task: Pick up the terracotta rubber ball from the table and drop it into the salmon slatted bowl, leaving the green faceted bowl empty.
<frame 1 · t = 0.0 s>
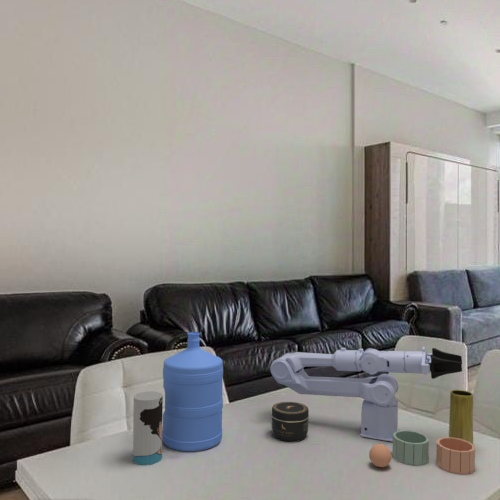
hand: (461, 363, 121), 22 cm above the table, tool horizontal, fingers open, 7 cm apart
white printed cylinder: (147, 459, 114), on the table
green faceted bowl: (410, 457, 116), on the table
vase: (460, 449, 122), on the table
ball: (380, 455, 111), point 2 cm above the table
jar: (289, 436, 129), on the table
water jug: (192, 440, 125), on the table
salmon slatted bowl: (455, 465, 112), on the table
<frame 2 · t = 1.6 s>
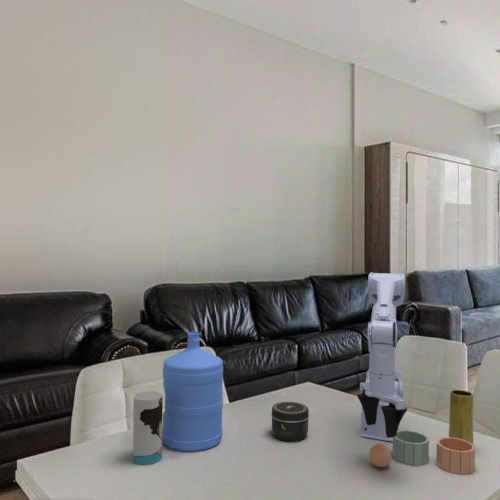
hand: (380, 430, 111), 8 cm above the table, tool pointing down, fingers open, 7 cm apart
nothing on the table moved.
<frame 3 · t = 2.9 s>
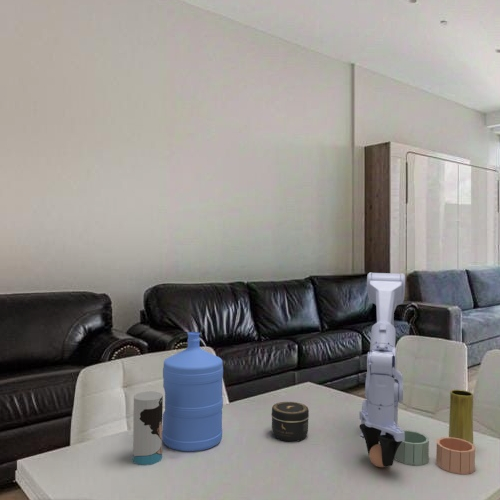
hand: (380, 460, 111), 1 cm above the table, tool pointing down, fingers closed on ball, 5 cm apart
ball: (380, 455, 111), point 2 cm above the table, touching gripper
everything else where it was.
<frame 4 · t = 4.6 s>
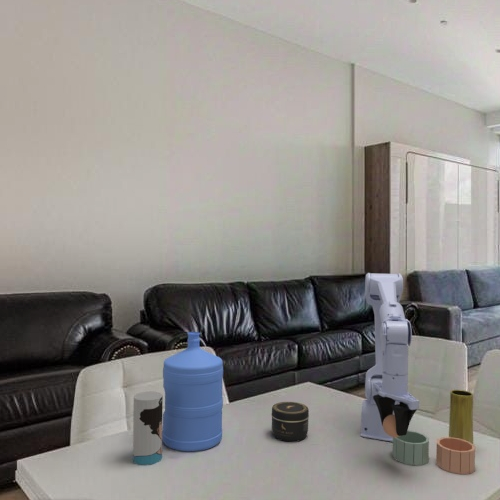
hand: (394, 430, 111), 8 cm above the table, tool pointing down, fingers closed on ball, 5 cm apart
ball: (393, 425, 111), point 9 cm above the table, touching gripper
everything else where it was.
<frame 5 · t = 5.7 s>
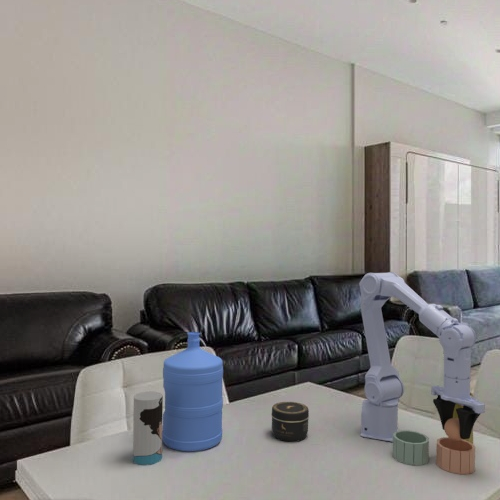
hand: (455, 433, 112), 8 cm above the table, tool pointing down, fingers closed on ball, 5 cm apart
ball: (455, 429, 112), point 9 cm above the table, touching gripper
everything else where it was.
when the fingers open (7 cm above the table, at t = 6.3 s): ball drops 5 cm, resting on salmon slatted bowl.
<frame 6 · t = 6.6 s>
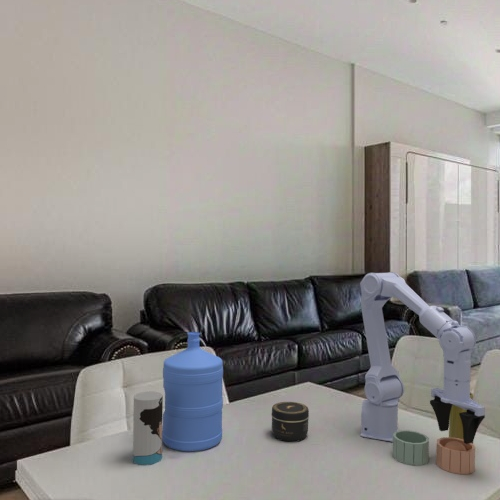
hand: (455, 436, 112), 7 cm above the table, tool pointing down, fingers open, 7 cm apart
ball: (455, 452, 112), point 3 cm above the table, touching salmon slatted bowl
everything else where it was.
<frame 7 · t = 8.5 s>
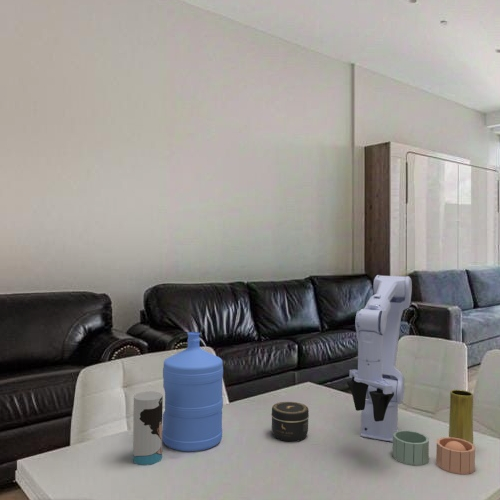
hand: (369, 415, 115), 10 cm above the table, tool pointing down, fingers open, 7 cm apart
nothing on the table moved.
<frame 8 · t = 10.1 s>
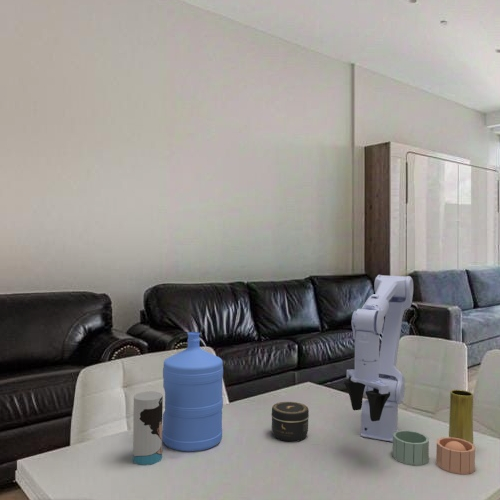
hand: (365, 414, 116), 10 cm above the table, tool pointing down, fingers open, 7 cm apart
nothing on the table moved.
at the end: ball 0.0 cm off-centre on the salmon slatted bowl, point 3.1 cm above the salmon slatted bowl's base; the gripper is holding nothing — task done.
